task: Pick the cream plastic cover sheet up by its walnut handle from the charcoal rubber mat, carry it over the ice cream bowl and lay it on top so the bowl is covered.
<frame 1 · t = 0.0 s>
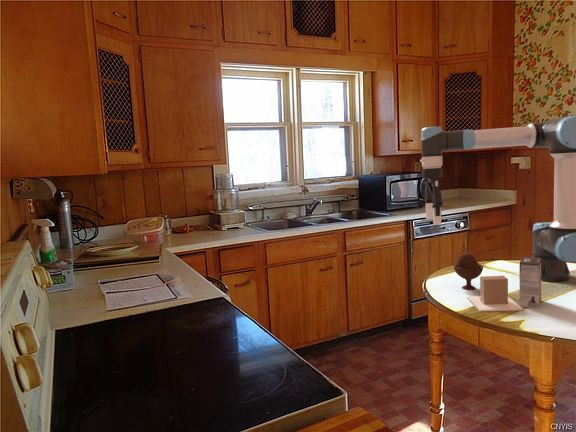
hand: (433, 221, 171), 28 cm above the table, tool pointing down, fingers open, 13 cm apart
mat: (493, 304, 155), on the table
ice cream bowl: (468, 289, 174), on the table
coffee box: (530, 305, 153), on the table
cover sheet: (493, 303, 155), resting on mat
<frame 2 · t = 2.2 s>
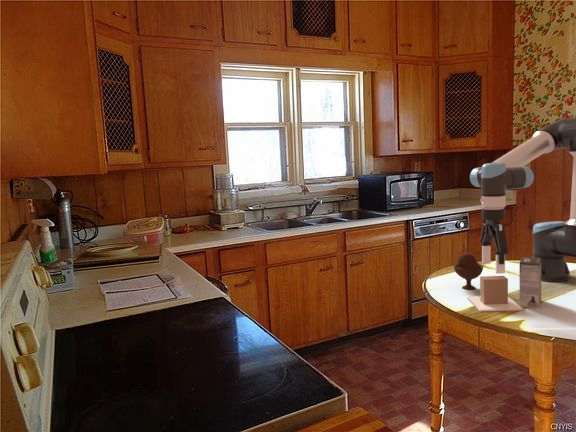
hand: (492, 268, 153), 14 cm above the table, tool pointing down, fingers open, 13 cm apart
nothing on the table moved.
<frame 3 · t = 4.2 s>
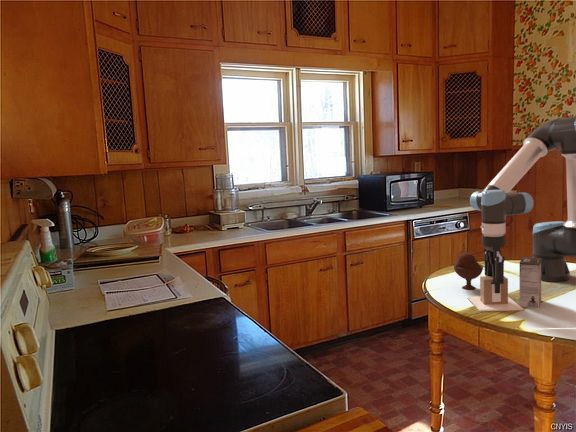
hand: (493, 299, 154), 2 cm above the table, tool pointing down, fingers closed on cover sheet, 4 cm apart
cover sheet: (493, 303, 155), resting on mat, touching gripper
everything else where it was.
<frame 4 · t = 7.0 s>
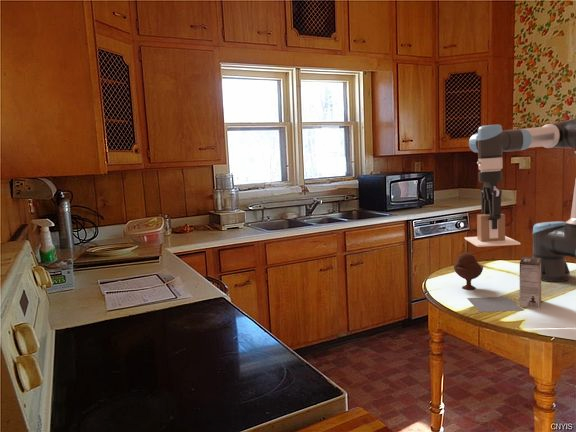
hand: (491, 236, 153), 24 cm above the table, tool pointing down, fingers closed on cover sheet, 4 cm apart
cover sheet: (491, 241, 154), point 23 cm above the table, touching gripper
everything else where it was.
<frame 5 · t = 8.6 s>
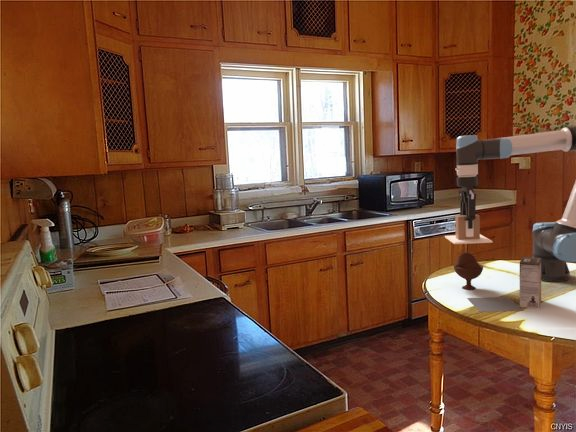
hand: (467, 235, 171), 22 cm above the table, tool pointing down, fingers closed on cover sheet, 4 cm apart
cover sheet: (467, 239, 171), point 20 cm above the table, touching gripper
everything else where it was.
when the fingers open (18 cm above the table, at t = 9.8 s): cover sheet drops 1 cm, resting on ice cream bowl.
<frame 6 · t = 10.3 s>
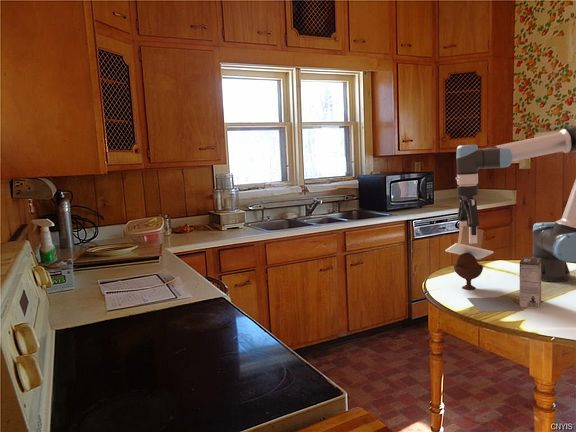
hand: (468, 240, 171), 20 cm above the table, tool pointing down, fingers open, 12 cm apart
ice cream bowl: (468, 289, 174), on the table, touching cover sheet
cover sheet: (468, 252, 172), point 15 cm above the table, tilted 29°, touching gripper, ice cream bowl
everything else where it was.
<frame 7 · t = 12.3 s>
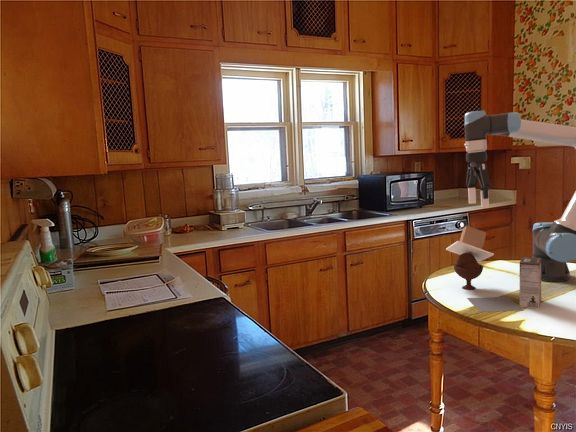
hand: (478, 205, 173), 33 cm above the table, tool pointing down, fingers open, 13 cm apart
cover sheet: (468, 252, 172), point 15 cm above the table, tilted 34°, touching ice cream bowl
everything else where it was.
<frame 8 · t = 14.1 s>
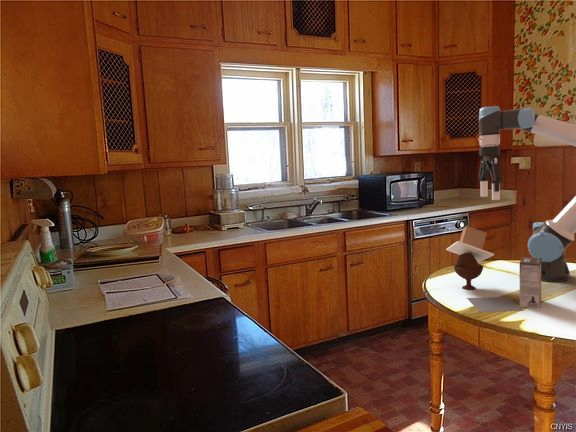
hand: (489, 198, 179), 35 cm above the table, tool pointing down, fingers open, 13 cm apart
nothing on the table moved.
at the end: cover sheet 0.6 cm off-centre on the ice cream bowl, point 15.0 cm above the ice cream bowl's base; the gripper is holding nothing; ice cream bowl tilted 0° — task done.
